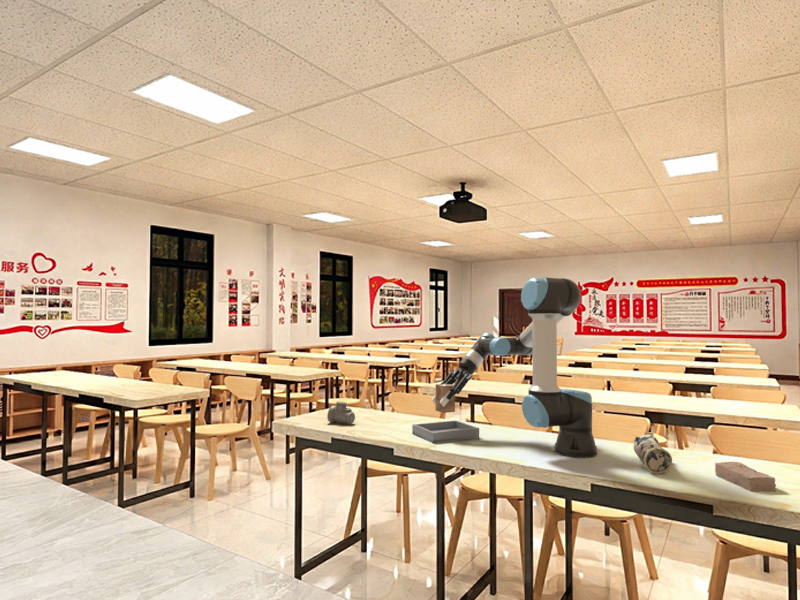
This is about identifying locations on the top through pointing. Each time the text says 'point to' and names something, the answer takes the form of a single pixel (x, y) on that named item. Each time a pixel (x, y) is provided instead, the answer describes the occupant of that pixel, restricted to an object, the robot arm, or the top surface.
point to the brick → (745, 477)
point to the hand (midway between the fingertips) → (437, 403)
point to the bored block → (440, 393)
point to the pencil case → (652, 454)
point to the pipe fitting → (341, 413)
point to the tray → (445, 431)
